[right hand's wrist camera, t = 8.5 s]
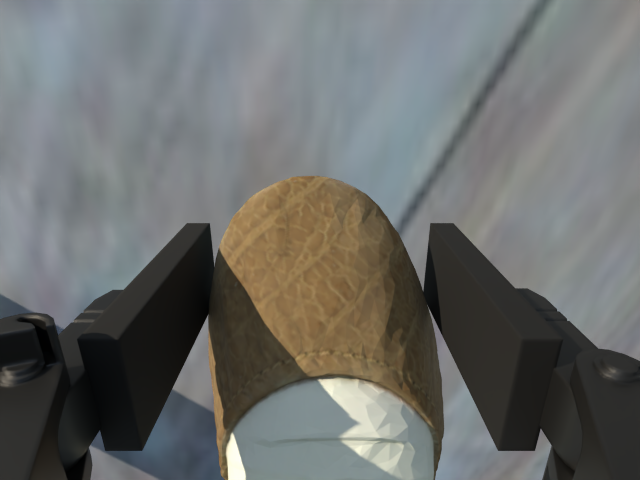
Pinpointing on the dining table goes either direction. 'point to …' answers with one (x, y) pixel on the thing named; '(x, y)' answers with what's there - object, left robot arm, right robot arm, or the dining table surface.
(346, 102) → the dining table surface
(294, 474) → the brown shoe
